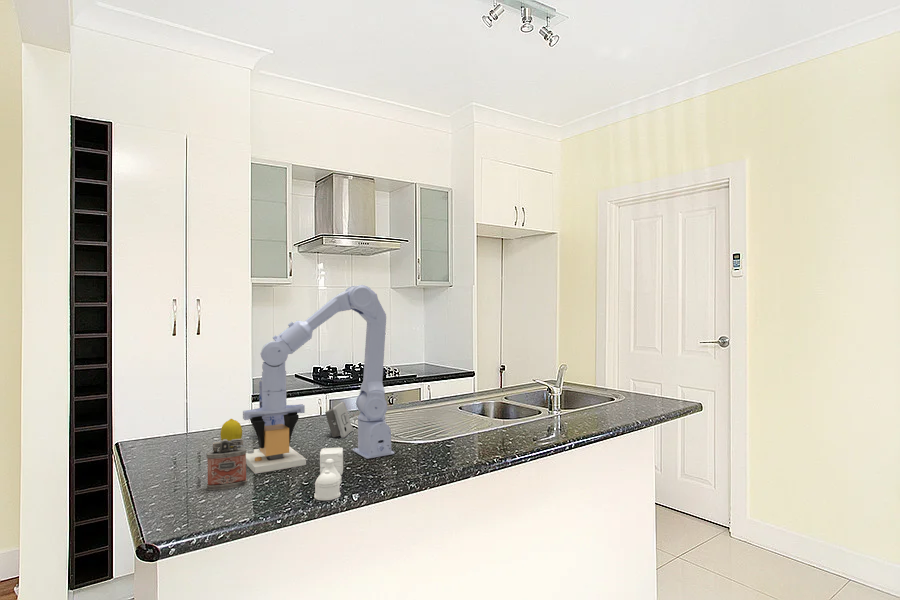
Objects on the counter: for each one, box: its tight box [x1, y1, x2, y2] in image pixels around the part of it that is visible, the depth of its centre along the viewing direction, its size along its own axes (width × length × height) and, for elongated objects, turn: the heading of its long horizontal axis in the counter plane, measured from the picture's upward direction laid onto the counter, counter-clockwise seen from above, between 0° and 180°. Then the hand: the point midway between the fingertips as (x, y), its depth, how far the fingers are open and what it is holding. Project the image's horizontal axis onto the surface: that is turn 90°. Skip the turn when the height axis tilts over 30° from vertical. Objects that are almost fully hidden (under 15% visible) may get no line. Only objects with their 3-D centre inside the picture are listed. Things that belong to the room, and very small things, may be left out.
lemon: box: [220, 418, 243, 449], centre depth 148 cm, size 6×6×8 cm
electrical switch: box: [325, 401, 353, 439], centre depth 162 cm, size 9×5×9 cm, turn 174°
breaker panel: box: [246, 445, 307, 475], centre depth 135 cm, size 16×12×4 cm
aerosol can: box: [258, 378, 285, 426], centre depth 161 cm, size 8×8×20 cm
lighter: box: [206, 438, 248, 491], centre depth 117 cm, size 8×3×10 cm, turn 114°
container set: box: [313, 447, 344, 501], centre depth 118 cm, size 20×5×6 cm, turn 9°
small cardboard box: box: [260, 424, 290, 456], centre depth 133 cm, size 6×6×6 cm
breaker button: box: [267, 454, 283, 461], centre depth 133 cm, size 3×3×3 cm
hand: (274, 445), depth 133 cm, fingers closed on small cardboard box, 6 cm apart
